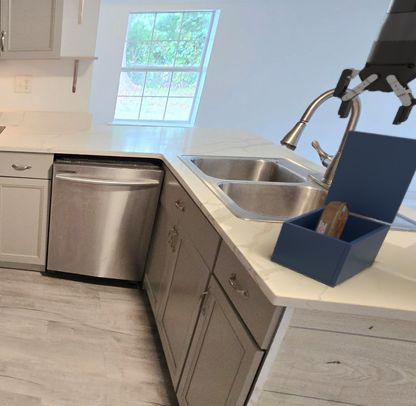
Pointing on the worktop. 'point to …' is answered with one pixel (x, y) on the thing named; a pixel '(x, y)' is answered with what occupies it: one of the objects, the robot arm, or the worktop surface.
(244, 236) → the worktop surface
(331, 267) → the blue box
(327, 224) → the tin
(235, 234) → the worktop surface
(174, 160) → the worktop surface
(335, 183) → the box lid
